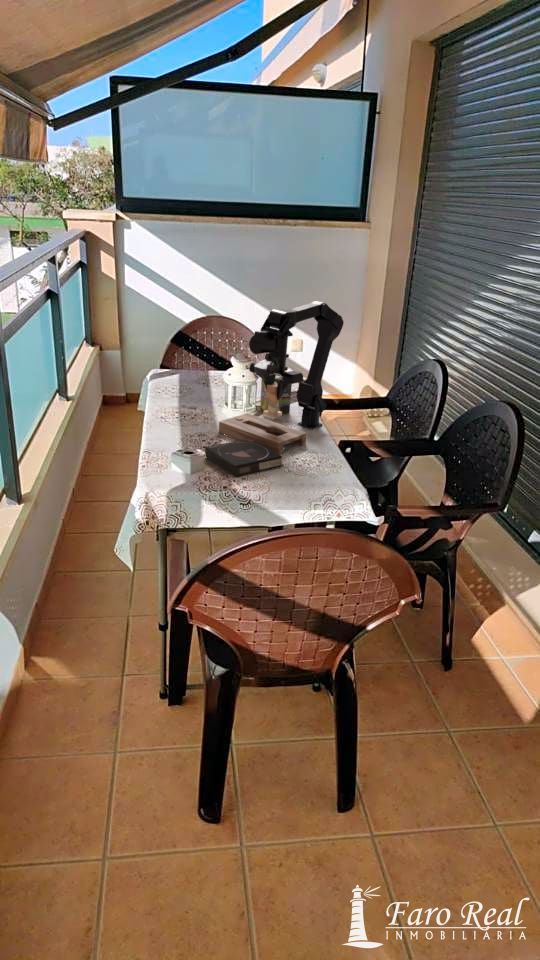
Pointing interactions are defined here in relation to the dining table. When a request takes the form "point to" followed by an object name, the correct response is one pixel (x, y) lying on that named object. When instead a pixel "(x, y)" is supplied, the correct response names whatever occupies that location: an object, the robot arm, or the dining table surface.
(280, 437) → the keyhole plate
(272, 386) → the copper peg
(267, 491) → the dining table surface
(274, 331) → the robot arm
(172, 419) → the dining table surface
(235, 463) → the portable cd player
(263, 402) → the chalk box
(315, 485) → the dining table surface
